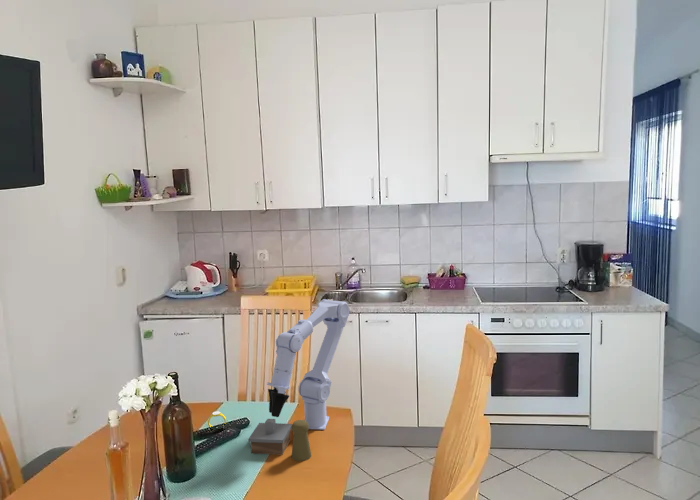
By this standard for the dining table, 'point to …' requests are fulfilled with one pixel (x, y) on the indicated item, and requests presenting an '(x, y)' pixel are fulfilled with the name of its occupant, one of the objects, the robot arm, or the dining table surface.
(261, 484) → the dining table surface
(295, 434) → the olive tapered shaker
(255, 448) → the box
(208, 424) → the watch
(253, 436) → the lid
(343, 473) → the dining table surface
